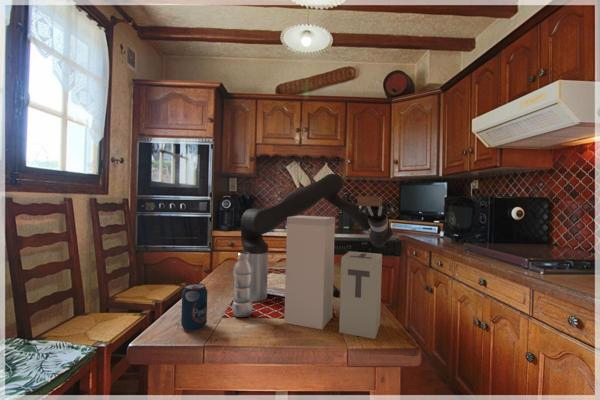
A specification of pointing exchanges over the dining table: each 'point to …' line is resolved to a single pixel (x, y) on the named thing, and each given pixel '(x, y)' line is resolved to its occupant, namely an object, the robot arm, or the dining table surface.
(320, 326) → the cream stand
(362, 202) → the walnut paddle
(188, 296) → the soda can
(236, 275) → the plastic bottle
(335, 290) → the door handle
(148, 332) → the dining table surface
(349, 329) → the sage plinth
